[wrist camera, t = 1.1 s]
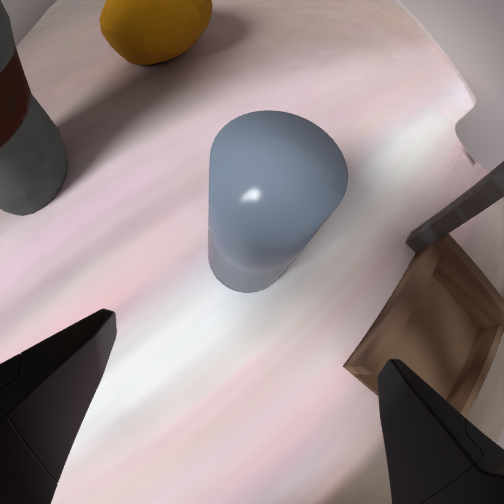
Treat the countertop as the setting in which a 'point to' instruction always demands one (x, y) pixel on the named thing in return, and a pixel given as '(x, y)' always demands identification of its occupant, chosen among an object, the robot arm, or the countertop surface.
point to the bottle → (25, 137)
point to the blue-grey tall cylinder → (268, 195)
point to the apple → (153, 27)
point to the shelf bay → (440, 309)
